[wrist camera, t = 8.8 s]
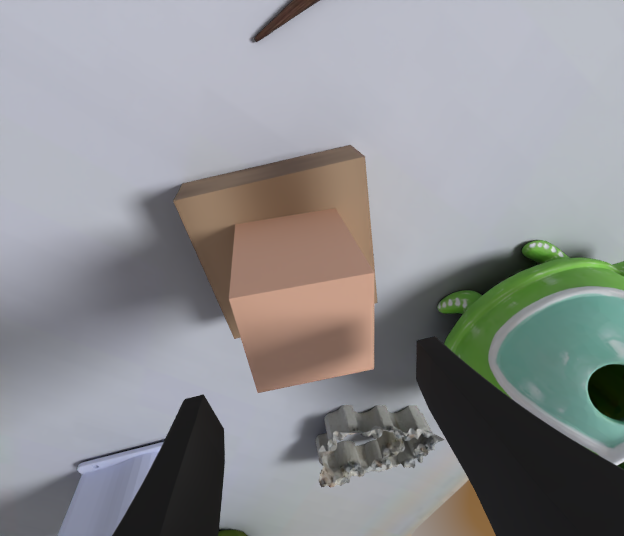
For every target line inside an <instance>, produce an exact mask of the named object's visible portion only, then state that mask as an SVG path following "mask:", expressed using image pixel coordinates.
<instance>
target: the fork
mask: <svg viewBox="0 0 624 536" xmlns="http://www.w3.org/2000/svg"><path fill="white" fill-rule="evenodd" d="M318 1H320V0H293V1H291V2H290V3H289V4H288V5H287V6H286V7H285V8H284V9H283V10H282V11H281V12H280V13H279V14H278V15H277V16H276V17H275V18H274V19H273V20H272V21H271V22H270V23H269V24H268V25H267V26H266V27H265V28H264V29H263V30H262V31H261V32H260V33H259V34H258V35H257V36H256V37H255V38H254V39H255V41H256V42H258V41H259V40H261V39H263V38H264V37H266V36H267V35H269V34H270V33H271V32H273V31H274V30H276V29H277V28H279V27H280V26H282V25H283V24H285V23H286V22H288V21H289V20H291V19H292V18H294V17H295V16H297V15H298V14H300V13H301V12H303V11H304V10H306V9H307V8H309V7H310V6H312V5H314V4H315V3H317V2H318Z"/></svg>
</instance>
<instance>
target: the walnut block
mask: <svg viewBox="0 0 624 536" xmlns="http://www.w3.org/2000/svg"><path fill="white" fill-rule="evenodd" d="M173 202H174V204H175V206H176V208H177V211H178V213H179V215H180V217H181V220H182V222H183V224H184V226H185V229H186V231H187V233H188V235H189V238H190V240H191V242H192V244H193V247H194V249H195V251H196V253H197V256H198V258H199V260H200V262H201V265H202V267H203V269H204V271H205V274H206V276H207V278H208V280H209V283H210V285H211V287H212V289H213V292H214V294H215V296H216V298H217V301H218V303H219V305H220V307H221V310H222V312H223V314H224V316H225V319H226V321H227V323H228V325H229V328H230V330H231V332H232V334H233V337H234V339H236V338H240V334H239V330H238V327H237V324H236V321H235V317H234V314H233V311H232V308H231V304H230V301H229V291H230V280H231V268H232V256H233V244H234V233H235V224H241V223H247V222H253V221H259V220H265V219H272V218H278V217H284V216H290V215H296V214H302V213H309V212H315V211H321V210H327V209H333V208H336V210H337V211H338V213H339V215H340V216H341V218H342V220H343V221H344V223H345V225H346V226H347V228H348V230H349V231H350V233H351V235H352V236H353V238H354V240H355V241H356V243H357V245H358V246H359V248H360V250H361V251H362V253H363V255H364V256H365V258H366V260H367V261H368V263H369V264H370V266H371V268H372V269H373V271H374V304H375V303H377V293H376V281H375V269H374V258H373V246H372V234H371V223H370V211H369V199H368V188H367V176H366V164H365V156H364V155H362V154H361V153H360V152H359V151H357V150H356V149H355V148H354V147H353V146H351V145H348V146H344V147H340V148H335V149H331V150H326V151H322V152H318V153H313V154H309V155H305V156H300V157H296V158H292V159H287V160H283V161H279V162H274V163H270V164H266V165H261V166H257V167H252V168H248V169H244V170H239V171H235V172H231V173H226V174H222V175H218V176H213V177H209V178H205V179H200V180H196V181H192V182H187V183H183V184H182V185H181V187H180V189H179V191H178V193H177V195H176V197H175V199H174V201H173Z"/></svg>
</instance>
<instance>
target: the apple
mask: <svg viewBox="0 0 624 536" xmlns="http://www.w3.org/2000/svg"><path fill="white" fill-rule="evenodd" d="M218 536H247V535H246V534H245V533H244V532H242V531H238V530H222V531H219V533H218Z"/></svg>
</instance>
